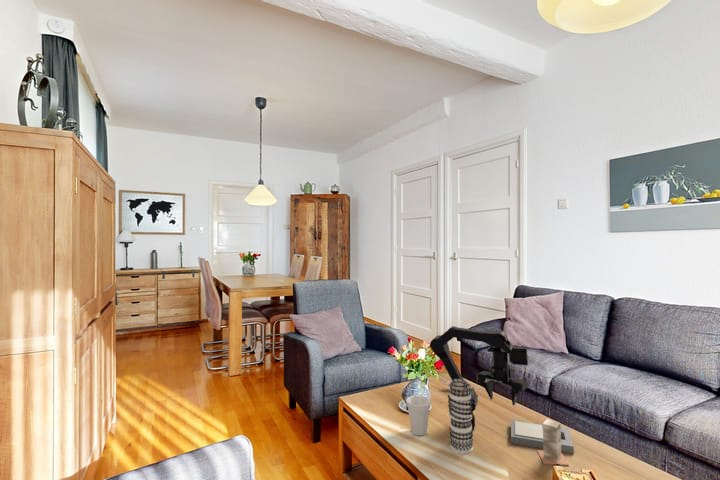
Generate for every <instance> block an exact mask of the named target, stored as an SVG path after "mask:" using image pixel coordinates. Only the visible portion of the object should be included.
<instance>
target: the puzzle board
mask: <svg viewBox="0 0 720 480" xmlns="http://www.w3.org/2000/svg"><path fill="white" fill-rule="evenodd" d="M510 443H511V444H515V445H522V446H526V447H527V446H528V447H533V448H534V447H535V448H539V449H543V423H542V424H541V423H536V422H528V421H520V420H515V419H511V420H510ZM574 449H575V448H574V443H573V440H572V437H571V434H570V430H569V428H568V427H564V426H561V453H562V452H563V453H568V454H574V452H575V450H574Z"/></svg>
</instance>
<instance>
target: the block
mask: <svg viewBox="0 0 720 480" xmlns="http://www.w3.org/2000/svg"><path fill="white" fill-rule="evenodd" d="M542 424H543V448H542V450H543V455H544V458H547V459H549V460H552V461H555V462H558V461H559V459H560V458H561V453H562V451H561V439H562V438H561V427H562V426H561V422H558V421H554V420H551V419H548V418H547V419H545V421H543V423H542Z"/></svg>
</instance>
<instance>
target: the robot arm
mask: <svg viewBox="0 0 720 480" xmlns="http://www.w3.org/2000/svg"><path fill="white" fill-rule="evenodd" d="M454 338H456V339H457V338H458V339H463V340H469V341H474V342H475V341H476V342H482V343H484V344H487V345H488V346H489V347H488V348H487V350H486V351H487V352H489V353H491V354H492V365H491V369H492V370H493V373H492V372H491V371H487V370H482V371H479V373H477V374H476V381H477V382H479V383H480V384H481V386H482V387H483V388H484V389H485V391H486V393H487V395H488V397H489V398H490V400H493V399H494V398H493V397H494V395H493V392H494V391H493V382H496V383H499V384H505V385H508V386H511V390H510V392H511V393H510V395H511V403H512V406H513V407H514V406H515V405H516V403H517V400H518V397H519V394H520V393H521V392H524V391H525V390H526V389H529V388H528V387H529V386H528V384H529V383H528V381H527V380H526V379H521V378H515V377H516V369H515V368H511V366H510V364H509V362H510V363H511V364H512V365H516V366H523V367H524V366H525V367H528V366H529V354H528V348H527V347H524V346H522V347H519V346H518V347H515V346H514V345H513V344H512V342H511V341H510V340H509V339H508V335H507V333H506V332H505V331H503V330H500V329H499V330H498V329H496V330H495V329H493V330H492V329H491V330H478V329H471V328H464V327H457V326H450V327H449V329H447V331H445V332H444V333H442V334H441V335H436V336H435V337H433V338H432V339H431V341H430V343H429V347H430V349H431V351H432V352H433V353H434V354H435V356H436V357H437V358H439V359H440V360H441V362H442V364H443V367H444V368H445V370H446V372H447V373H448V375H449V378H450V379H451V381H452V380H454V379H464V377H463V375H462V374H461V372H460V370H459V368H458V366H457V364H456V363H455V361H454V359H453V357H452V355H451V353H450V352H451V351H450V347H449V342H450V341H452V339H454ZM513 378H515V379H514V380H513ZM511 379H512V380H511ZM470 393H471V396H472V397H473V400H472V401H473V404H472V405H471V406H472V407H473V409H472V411H473V412H474V411H475V410H476V408H477V406H478V403H479V395H478V394H477V393H476V390H475V388H474V387H472V386H471V387H470ZM471 415H472V419H471V424H472V430H473V431H475V427H476V418H475V414H474V413H473V414H471Z"/></svg>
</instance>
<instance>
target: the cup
mask: <svg viewBox="0 0 720 480" xmlns="http://www.w3.org/2000/svg"><path fill="white" fill-rule="evenodd" d="M405 401H406V406H407V410H408V416H409V421H410V423H409V424H410V429H411V433H412V434H413V435H416V436H424V435H426V434H427V433H428V427H429V426H428V424H429V417H430V416H429V415H430V408H431V403H432V400H431V399H430V397H429V398H428V397H427V396H424V395H412V396H409V397H407V398H406V400H405Z"/></svg>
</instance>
